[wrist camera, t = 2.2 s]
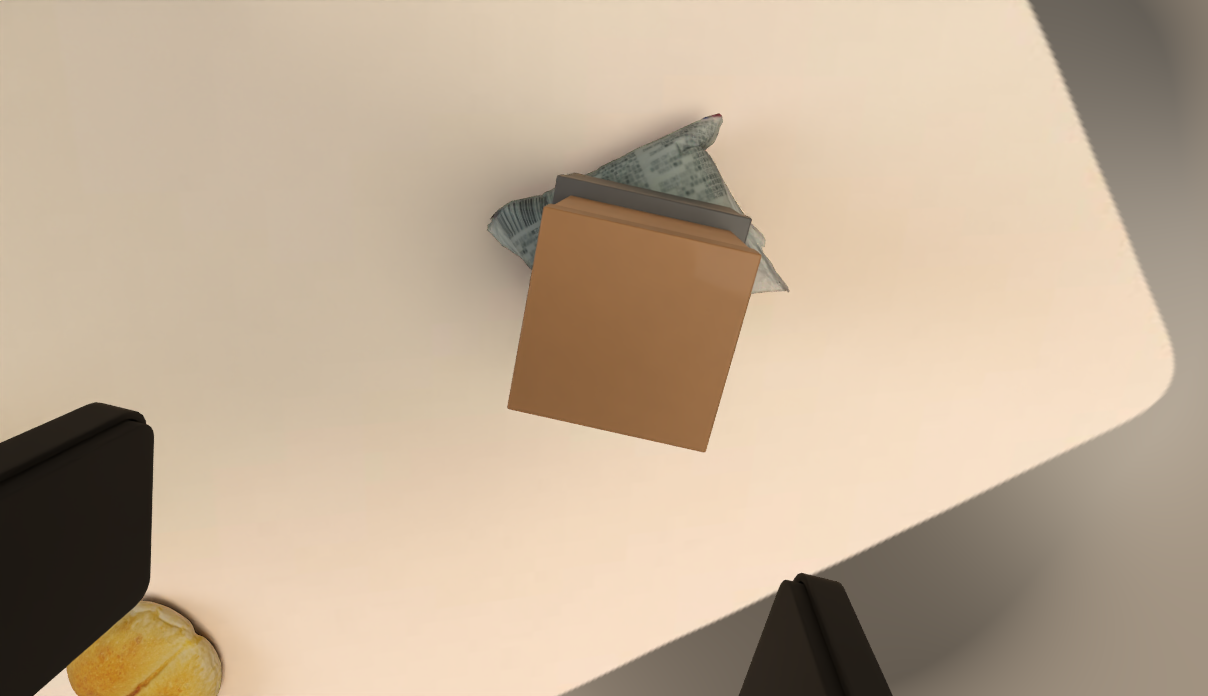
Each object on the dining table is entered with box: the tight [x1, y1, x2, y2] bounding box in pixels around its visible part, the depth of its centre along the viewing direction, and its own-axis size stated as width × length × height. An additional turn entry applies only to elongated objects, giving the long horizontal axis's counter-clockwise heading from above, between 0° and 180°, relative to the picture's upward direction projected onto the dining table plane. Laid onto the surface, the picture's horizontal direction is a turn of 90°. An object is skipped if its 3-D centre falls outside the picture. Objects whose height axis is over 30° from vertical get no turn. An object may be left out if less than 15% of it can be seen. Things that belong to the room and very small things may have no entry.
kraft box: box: [507, 196, 762, 452], centre depth 20 cm, size 6×6×6 cm
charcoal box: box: [552, 173, 752, 244], centre depth 25 cm, size 7×7×5 cm
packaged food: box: [487, 114, 789, 294], centre depth 30 cm, size 9×12×5 cm
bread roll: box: [67, 601, 222, 696], centre depth 39 cm, size 8×9×4 cm
